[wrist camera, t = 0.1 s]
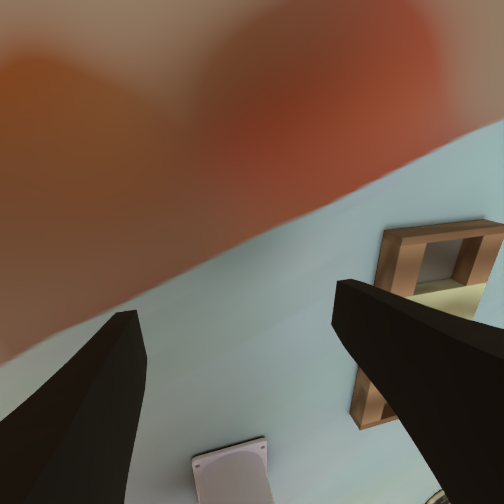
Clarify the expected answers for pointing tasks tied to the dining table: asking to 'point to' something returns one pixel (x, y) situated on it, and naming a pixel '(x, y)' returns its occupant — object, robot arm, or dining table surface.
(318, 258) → the dining table surface
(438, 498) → the coffee can
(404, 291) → the board
